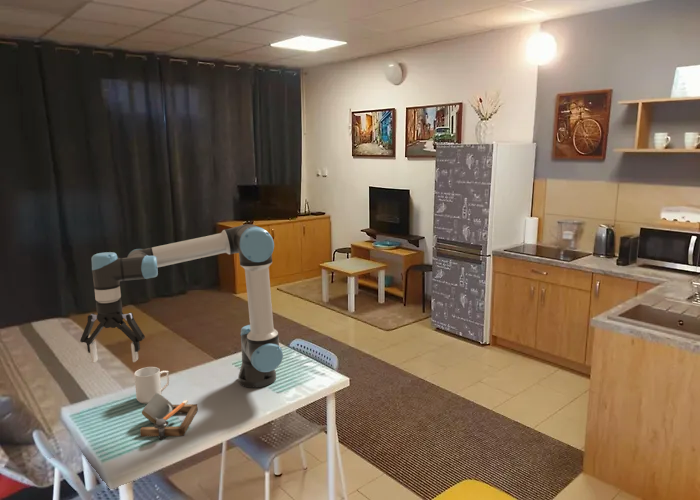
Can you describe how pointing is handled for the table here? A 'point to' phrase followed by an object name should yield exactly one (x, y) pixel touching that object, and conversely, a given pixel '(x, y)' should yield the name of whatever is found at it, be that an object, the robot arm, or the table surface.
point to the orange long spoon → (170, 414)
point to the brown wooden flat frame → (176, 430)
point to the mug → (148, 383)
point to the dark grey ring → (161, 430)
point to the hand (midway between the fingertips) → (115, 361)
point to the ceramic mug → (157, 408)
